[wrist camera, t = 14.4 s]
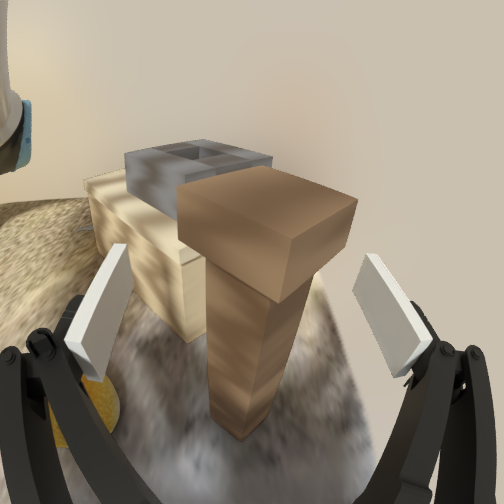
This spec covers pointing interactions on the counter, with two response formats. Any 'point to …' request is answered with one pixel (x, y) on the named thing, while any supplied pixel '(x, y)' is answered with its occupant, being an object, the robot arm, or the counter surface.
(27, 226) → the counter surface
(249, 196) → the brown t-shaped block
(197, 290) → the tan two-tone block
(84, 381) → the bread roll
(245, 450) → the counter surface
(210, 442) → the counter surface
